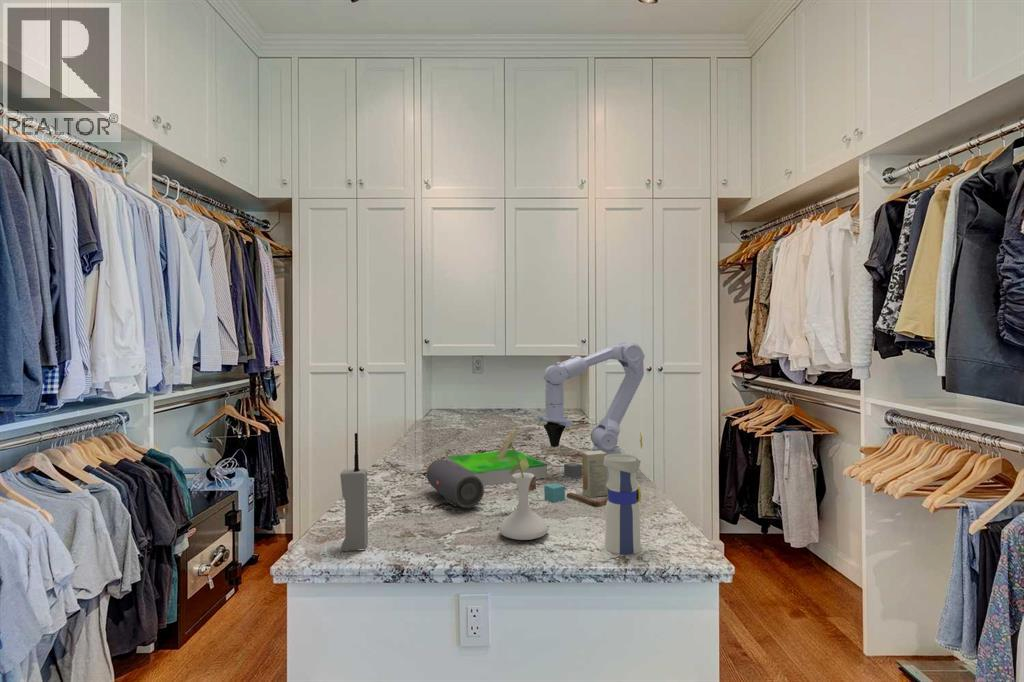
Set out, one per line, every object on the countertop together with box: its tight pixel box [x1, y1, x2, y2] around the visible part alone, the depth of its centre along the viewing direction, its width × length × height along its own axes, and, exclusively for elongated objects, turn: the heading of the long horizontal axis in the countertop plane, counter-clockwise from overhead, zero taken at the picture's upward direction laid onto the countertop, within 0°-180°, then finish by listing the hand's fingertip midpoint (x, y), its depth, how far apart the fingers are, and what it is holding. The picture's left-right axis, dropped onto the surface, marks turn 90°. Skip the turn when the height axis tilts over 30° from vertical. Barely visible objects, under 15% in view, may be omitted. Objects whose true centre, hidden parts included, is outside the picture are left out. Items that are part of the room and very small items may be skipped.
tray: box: [447, 449, 548, 487], centre depth 183 cm, size 25×25×5 cm
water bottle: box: [603, 432, 643, 555], centre depth 119 cm, size 8×9×25 cm
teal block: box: [543, 482, 566, 504], centre depth 154 cm, size 4×4×4 cm
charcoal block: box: [563, 461, 583, 479], centre depth 179 cm, size 4×4×4 cm
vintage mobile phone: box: [339, 432, 369, 551], centre depth 120 cm, size 4×5×25 cm
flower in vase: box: [497, 428, 549, 541], centre depth 126 cm, size 13×11×25 cm
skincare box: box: [581, 450, 608, 498], centre depth 158 cm, size 6×4×12 cm
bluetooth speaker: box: [426, 458, 485, 508], centre depth 153 cm, size 23×9×10 cm, turn 27°
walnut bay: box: [566, 492, 608, 508], centre depth 155 cm, size 13×12×1 cm
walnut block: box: [529, 476, 537, 491], centre depth 164 cm, size 4×4×4 cm
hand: (554, 446), depth 175 cm, fingers closed
